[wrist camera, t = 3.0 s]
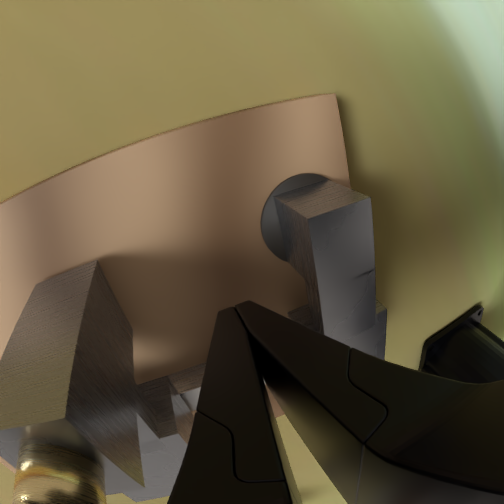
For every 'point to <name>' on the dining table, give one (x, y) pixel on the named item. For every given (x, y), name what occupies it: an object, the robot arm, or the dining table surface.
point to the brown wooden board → (177, 226)
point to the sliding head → (85, 401)
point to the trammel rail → (324, 271)
